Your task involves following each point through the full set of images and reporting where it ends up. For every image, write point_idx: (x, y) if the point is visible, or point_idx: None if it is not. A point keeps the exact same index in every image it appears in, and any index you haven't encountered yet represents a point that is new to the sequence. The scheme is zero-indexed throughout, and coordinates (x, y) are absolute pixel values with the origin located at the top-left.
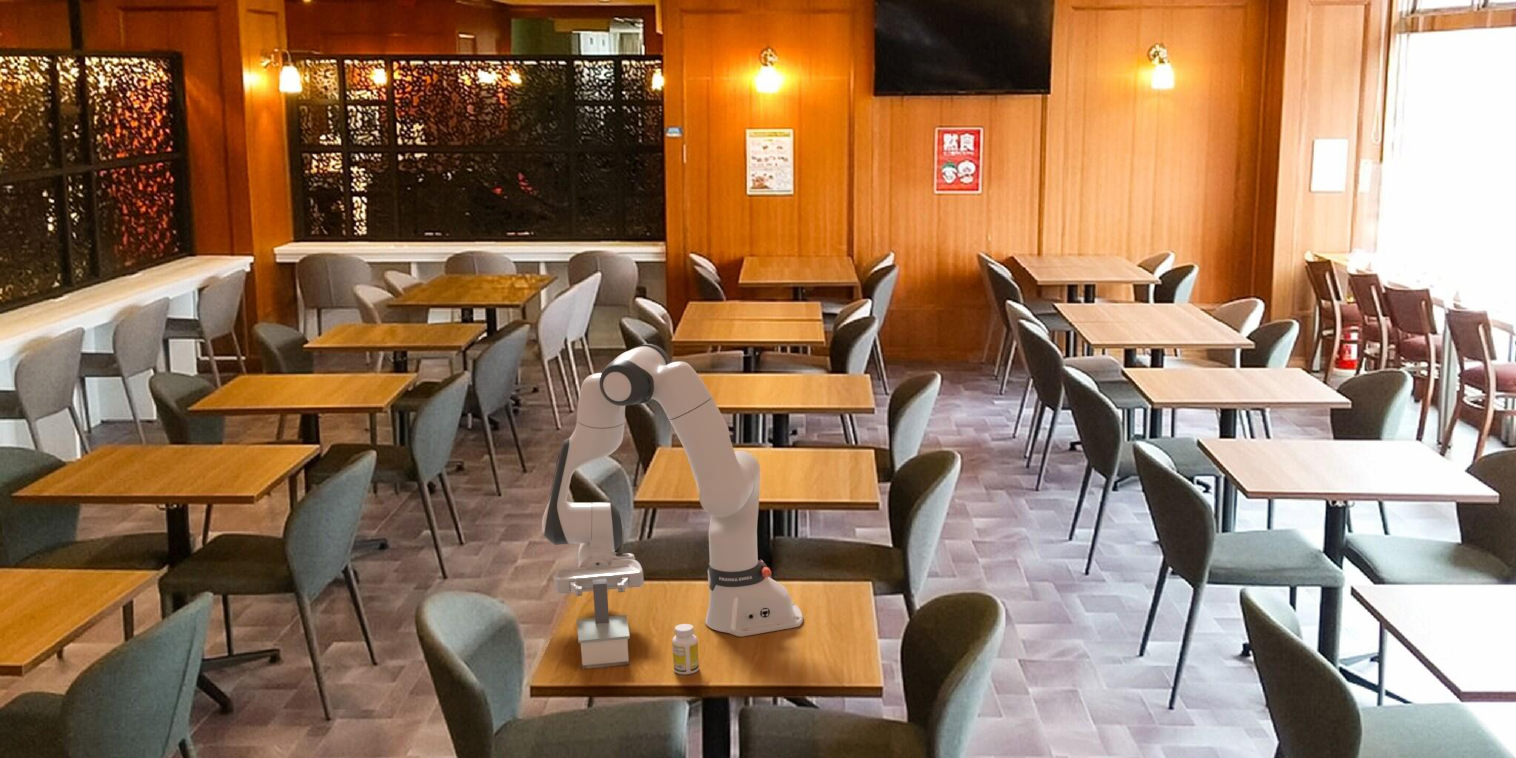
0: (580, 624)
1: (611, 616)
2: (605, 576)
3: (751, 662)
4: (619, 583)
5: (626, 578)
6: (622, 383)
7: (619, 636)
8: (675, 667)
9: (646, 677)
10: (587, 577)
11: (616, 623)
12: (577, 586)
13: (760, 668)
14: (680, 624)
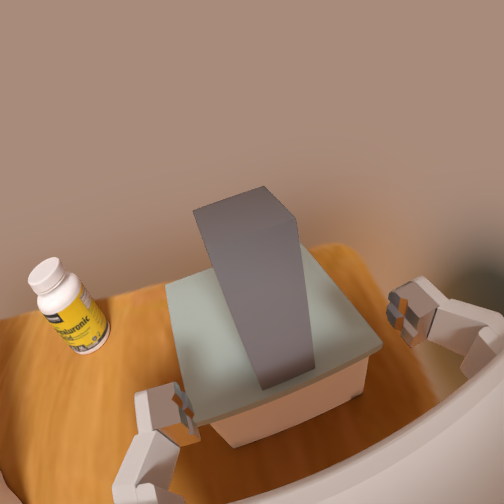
0: (345, 312)
1: (252, 402)
2: (301, 482)
3: (8, 368)
4: (165, 413)
5: (123, 489)
6: None
7: (191, 277)
8: (103, 314)
9: (159, 300)
10: (449, 399)
11: (216, 348)
12: (436, 303)
13: (6, 351)
14: (43, 279)
